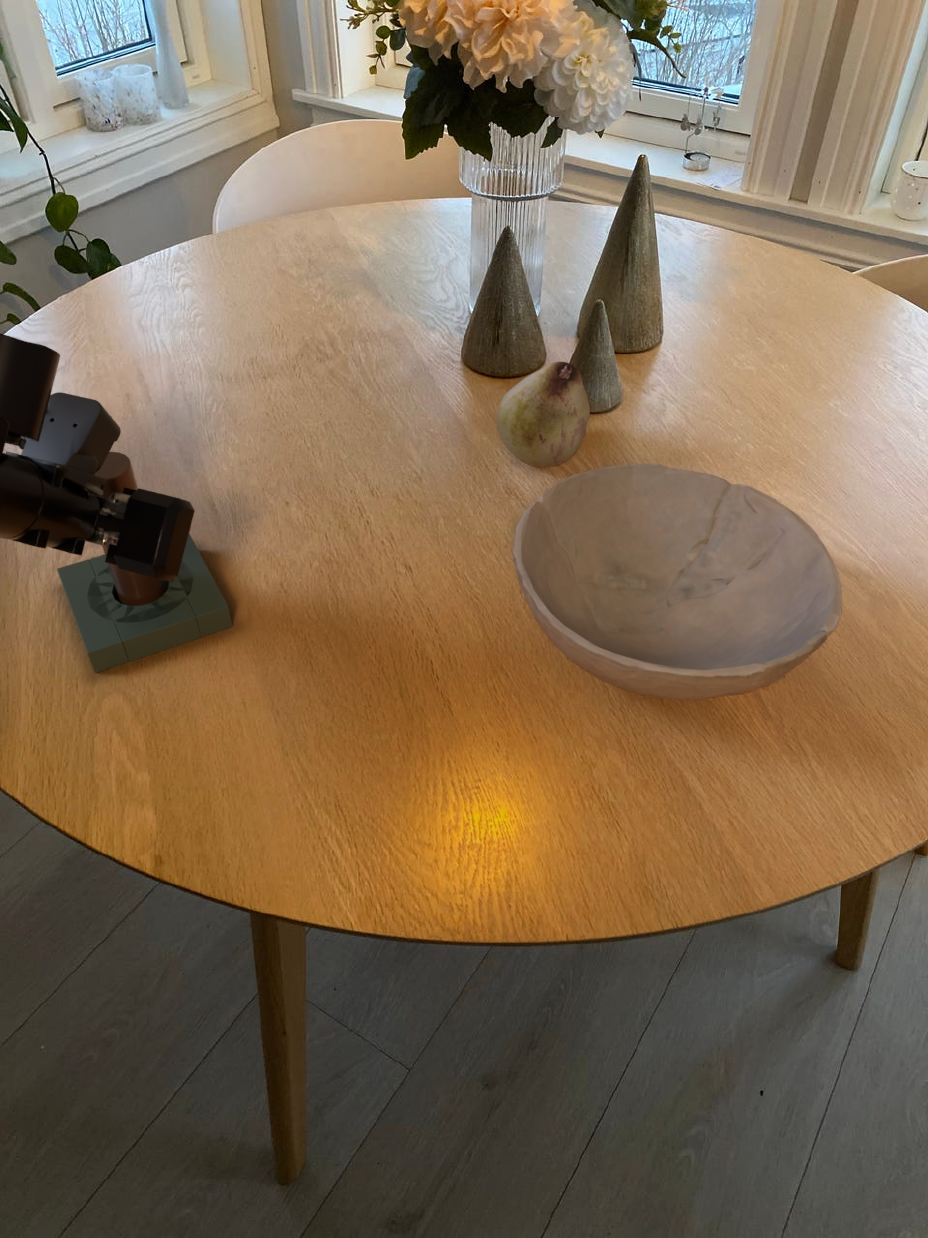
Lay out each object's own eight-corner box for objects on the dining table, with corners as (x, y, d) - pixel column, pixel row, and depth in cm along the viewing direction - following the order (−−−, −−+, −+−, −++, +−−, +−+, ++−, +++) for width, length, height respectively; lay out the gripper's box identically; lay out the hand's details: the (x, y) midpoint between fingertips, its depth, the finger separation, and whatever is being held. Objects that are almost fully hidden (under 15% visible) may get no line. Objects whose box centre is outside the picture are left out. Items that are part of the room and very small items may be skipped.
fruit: (561, 492, 99) (571, 389, 91) (479, 467, 102) (482, 365, 94) (597, 443, 106) (610, 343, 97) (520, 421, 109) (525, 322, 101)
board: (95, 673, 80) (87, 653, 78) (64, 588, 88) (56, 568, 86) (232, 626, 84) (228, 606, 83) (192, 549, 92) (187, 529, 90)
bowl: (631, 510, 97) (644, 425, 90) (870, 644, 84) (908, 557, 77) (443, 636, 84) (442, 548, 77) (691, 821, 70) (717, 734, 63)
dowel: (159, 622, 84) (119, 482, 74) (116, 618, 85) (69, 478, 74) (175, 592, 87) (137, 453, 77) (132, 588, 87) (89, 449, 77)
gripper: (152, 410, 64) (256, 460, 79) (-72, 360, 69) (67, 416, 84) (111, 571, 64) (223, 590, 79) (-111, 511, 69) (35, 540, 84)
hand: (135, 529), depth 81 cm, fingers closed on dowel, 4 cm apart
